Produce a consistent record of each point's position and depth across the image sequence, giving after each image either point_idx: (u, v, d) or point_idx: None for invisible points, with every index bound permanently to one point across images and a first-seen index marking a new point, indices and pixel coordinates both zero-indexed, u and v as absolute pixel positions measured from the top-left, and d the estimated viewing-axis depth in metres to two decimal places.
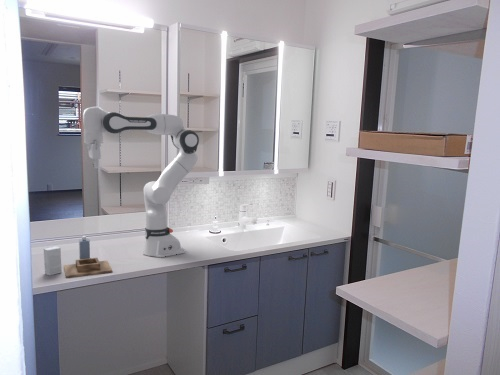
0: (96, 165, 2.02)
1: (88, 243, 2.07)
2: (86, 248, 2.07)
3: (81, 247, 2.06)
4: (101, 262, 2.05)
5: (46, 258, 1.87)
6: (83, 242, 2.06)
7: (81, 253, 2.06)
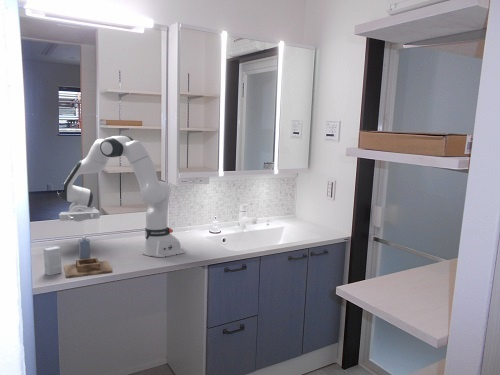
0: (69, 218, 2.16)
1: (88, 243, 2.07)
2: (86, 248, 2.07)
3: (81, 247, 2.06)
4: (101, 262, 2.05)
5: (46, 258, 1.87)
6: (83, 242, 2.06)
7: (81, 253, 2.06)
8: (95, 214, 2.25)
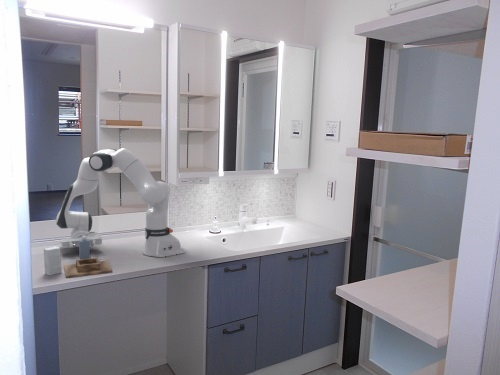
0: (71, 245, 2.14)
1: (88, 243, 2.07)
2: (86, 248, 2.07)
3: (81, 247, 2.06)
4: (101, 262, 2.05)
5: (46, 258, 1.87)
6: (83, 242, 2.06)
7: (81, 253, 2.06)
8: (97, 240, 2.22)
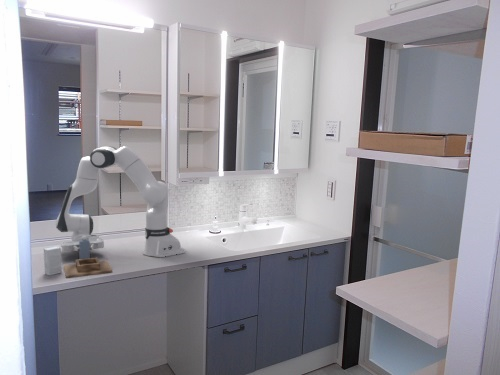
0: (76, 249, 2.07)
1: (88, 243, 2.07)
2: (86, 248, 2.07)
3: (81, 247, 2.06)
4: (101, 262, 2.05)
5: (46, 258, 1.87)
6: (83, 242, 2.06)
7: (81, 253, 2.06)
8: (99, 244, 2.15)
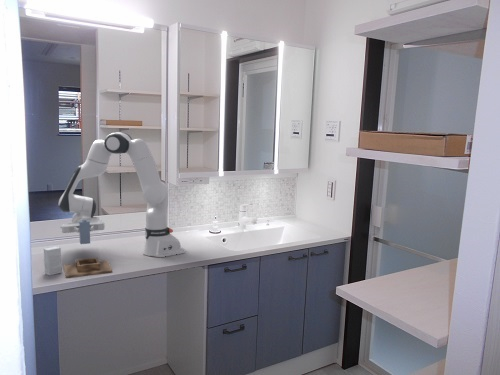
0: (76, 230, 2.04)
1: (88, 224, 2.03)
2: (86, 229, 2.03)
3: (81, 228, 2.02)
4: (101, 262, 2.05)
5: (46, 258, 1.87)
6: (83, 223, 2.02)
7: (81, 234, 2.03)
8: (99, 225, 2.12)
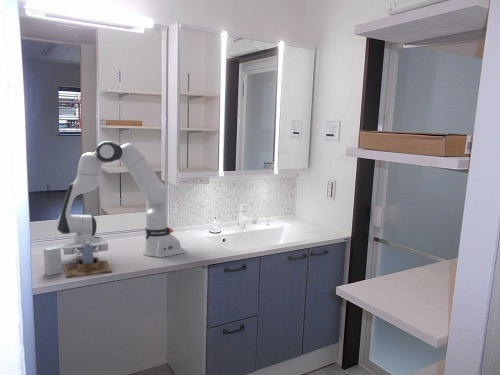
0: (76, 252, 1.94)
1: (91, 248, 1.94)
2: (89, 254, 1.94)
3: (84, 253, 1.93)
4: (101, 262, 2.05)
5: (46, 258, 1.87)
6: (86, 247, 1.93)
7: (84, 259, 1.94)
8: (103, 246, 2.03)
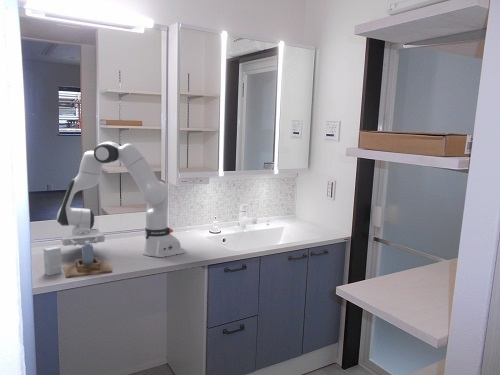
0: (73, 243, 2.06)
1: (91, 248, 1.94)
2: (89, 254, 1.94)
3: (84, 253, 1.93)
4: (101, 262, 2.05)
5: (46, 258, 1.87)
6: (86, 247, 1.93)
7: (84, 259, 1.94)
8: (99, 237, 2.14)
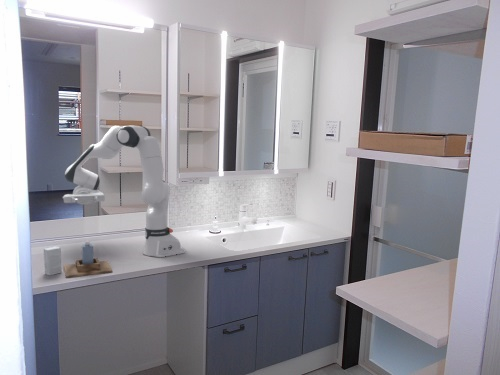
0: (73, 200, 2.12)
1: (91, 248, 1.94)
2: (89, 254, 1.94)
3: (84, 253, 1.93)
4: (101, 262, 2.05)
5: (46, 258, 1.87)
6: (86, 247, 1.93)
7: (84, 259, 1.94)
8: (100, 196, 2.21)
